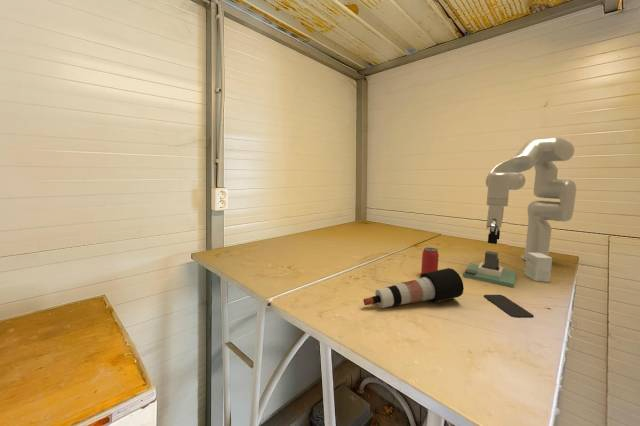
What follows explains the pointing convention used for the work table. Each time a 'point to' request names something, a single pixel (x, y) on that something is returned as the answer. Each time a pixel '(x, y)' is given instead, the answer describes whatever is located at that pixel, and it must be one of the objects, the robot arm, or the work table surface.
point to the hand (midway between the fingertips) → (493, 241)
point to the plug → (491, 260)
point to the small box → (538, 266)
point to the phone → (508, 306)
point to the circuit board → (505, 279)
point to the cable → (420, 289)
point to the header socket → (490, 271)
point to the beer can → (429, 260)
